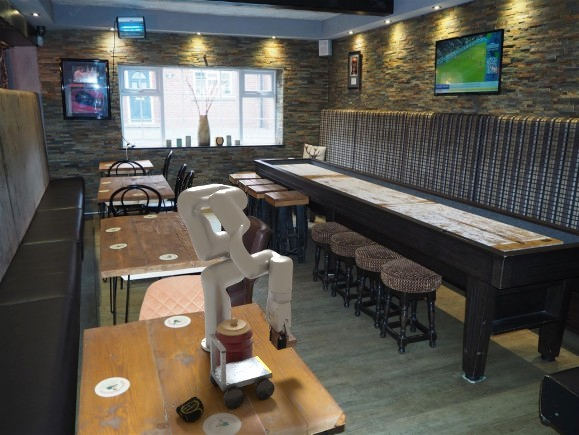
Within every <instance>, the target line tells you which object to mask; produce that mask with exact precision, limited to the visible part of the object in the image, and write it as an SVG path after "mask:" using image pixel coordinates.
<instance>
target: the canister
mask: <svg viewBox="0 0 579 435" xmlns="http://www.w3.org/2000/svg"><path fill="white" fill-rule="evenodd" d="M215 336H216V337H217V339H218V340H219V341H220V342H221V344H222V345H223V346H224V347H225V349H226V364H229V363H233V362H237V361H241V360H245V359H249V358H253V357H254V355H253V354H254V352H253V351H254V350H253V346H254V345H253V344H254V341H253V338H252V337H253V336H254V331H253V330H252V329H251V325H250V323H249V322H247V321H245V320H243V319H240V318H236V317H235V316H233V317H231V319H228V320H225V321H223V322H222V323H220V324H219V325H218V326H217V331H216V332H215ZM215 348H216V367H217V366H221V361H220V350H219V349H218V348H217V346H216V345H215Z"/></svg>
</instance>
